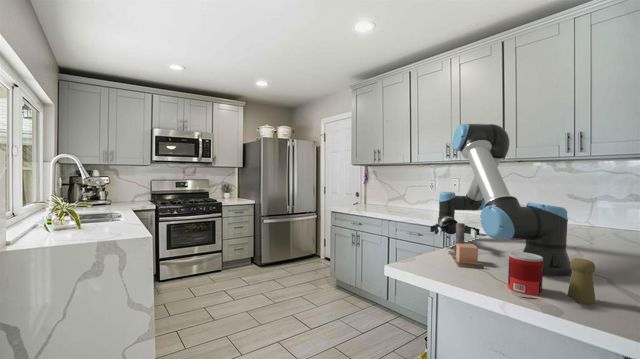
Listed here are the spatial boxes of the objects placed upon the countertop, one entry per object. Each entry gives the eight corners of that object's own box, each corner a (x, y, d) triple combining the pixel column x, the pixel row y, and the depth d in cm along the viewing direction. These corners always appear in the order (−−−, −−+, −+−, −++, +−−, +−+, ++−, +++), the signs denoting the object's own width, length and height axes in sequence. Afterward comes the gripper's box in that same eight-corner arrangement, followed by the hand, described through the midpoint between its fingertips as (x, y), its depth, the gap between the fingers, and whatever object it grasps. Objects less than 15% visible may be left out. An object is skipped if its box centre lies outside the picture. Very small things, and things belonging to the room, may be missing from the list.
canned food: (547, 301, 82) (549, 260, 82) (514, 298, 84) (515, 257, 84) (533, 290, 90) (535, 252, 89) (503, 287, 91) (504, 250, 91)
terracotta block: (456, 259, 116) (456, 243, 116) (473, 260, 115) (473, 244, 115) (459, 263, 111) (459, 247, 110) (477, 265, 109) (477, 248, 109)
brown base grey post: (448, 253, 128) (449, 222, 128) (469, 255, 126) (469, 223, 126) (458, 270, 107) (459, 232, 107) (483, 272, 105) (484, 233, 105)
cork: (560, 295, 86) (562, 256, 86) (581, 295, 87) (582, 256, 86) (581, 305, 80) (582, 263, 80) (602, 304, 81) (604, 262, 80)
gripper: (477, 234, 147) (490, 244, 127) (422, 231, 153) (426, 240, 133) (477, 219, 147) (490, 226, 127) (422, 216, 153) (426, 223, 133)
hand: (457, 233), depth 130 cm, fingers open, 13 cm apart
